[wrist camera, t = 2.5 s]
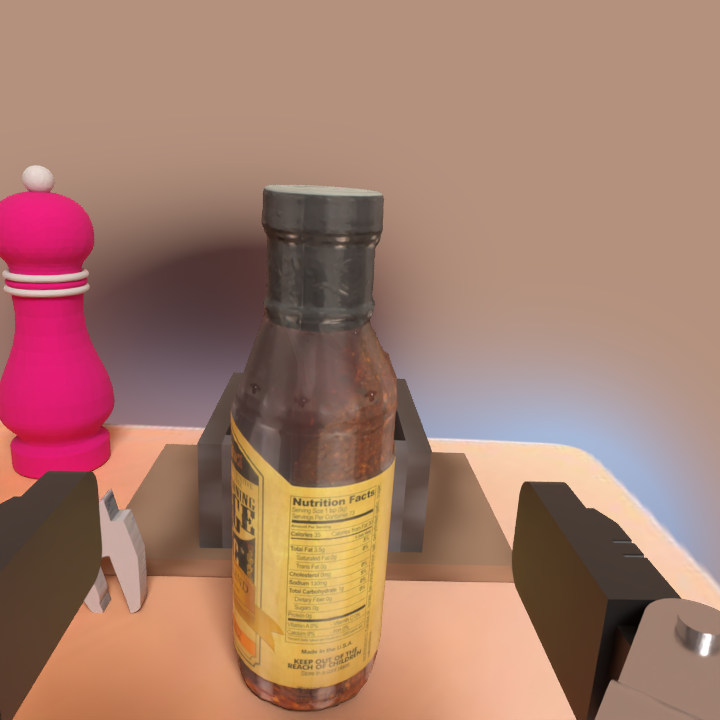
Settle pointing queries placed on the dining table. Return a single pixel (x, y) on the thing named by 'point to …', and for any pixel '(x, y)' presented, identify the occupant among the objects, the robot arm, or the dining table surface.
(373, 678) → the dining table surface
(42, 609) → the robot arm
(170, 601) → the dining table surface
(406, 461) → the bottle caddy
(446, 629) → the dining table surface
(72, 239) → the pepper mill
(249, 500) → the sauce bottle
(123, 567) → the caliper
